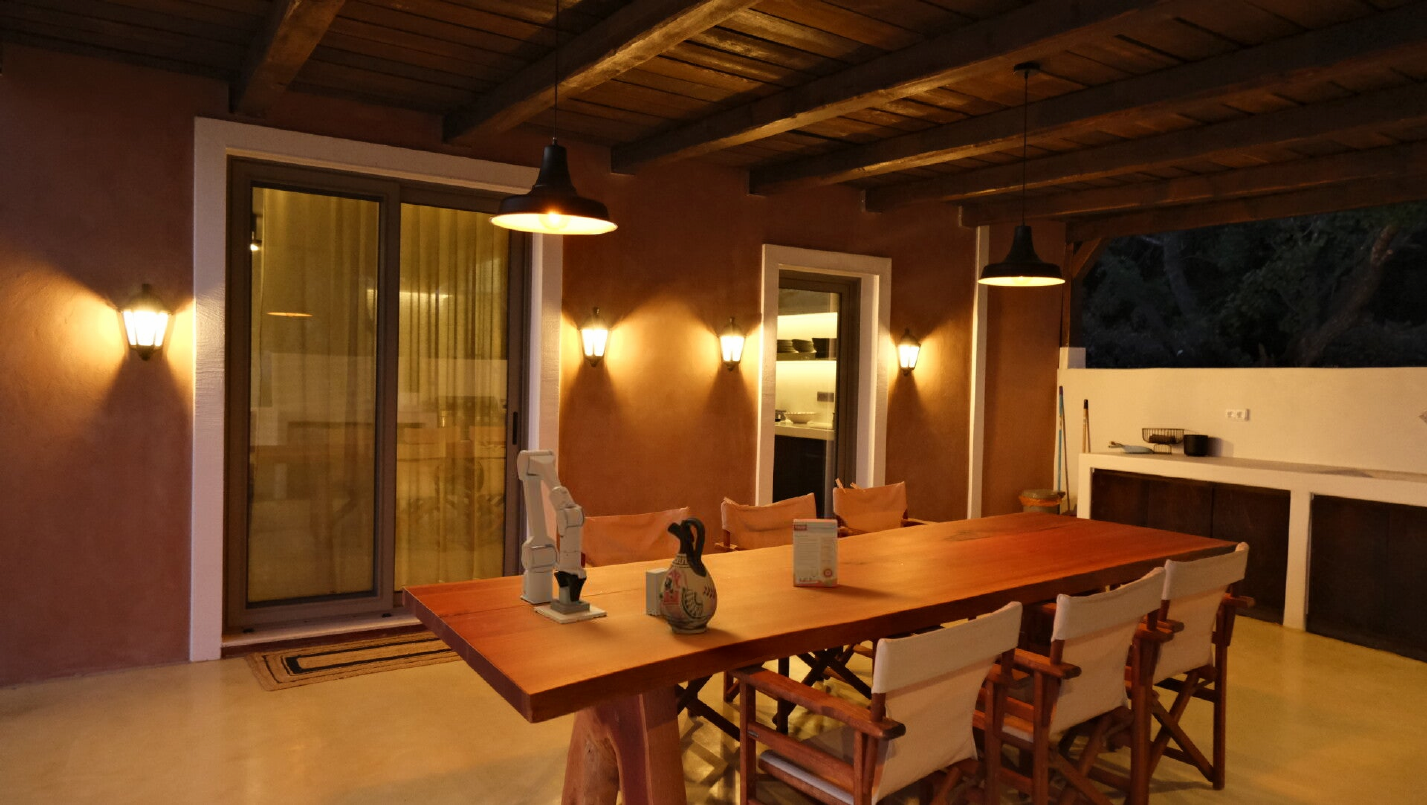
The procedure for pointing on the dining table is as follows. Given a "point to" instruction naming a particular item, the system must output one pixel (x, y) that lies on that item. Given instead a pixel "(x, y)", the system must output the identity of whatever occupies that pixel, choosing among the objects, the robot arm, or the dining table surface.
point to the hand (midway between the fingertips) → (570, 599)
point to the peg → (565, 597)
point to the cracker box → (815, 552)
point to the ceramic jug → (688, 583)
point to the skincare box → (654, 590)
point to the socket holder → (569, 611)
